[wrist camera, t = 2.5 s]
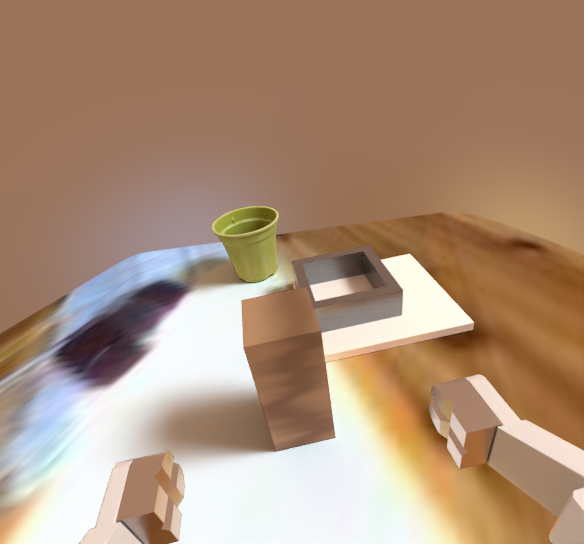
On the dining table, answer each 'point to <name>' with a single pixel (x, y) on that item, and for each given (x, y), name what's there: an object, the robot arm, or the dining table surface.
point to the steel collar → (354, 306)
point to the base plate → (397, 330)
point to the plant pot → (250, 241)
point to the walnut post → (288, 367)
